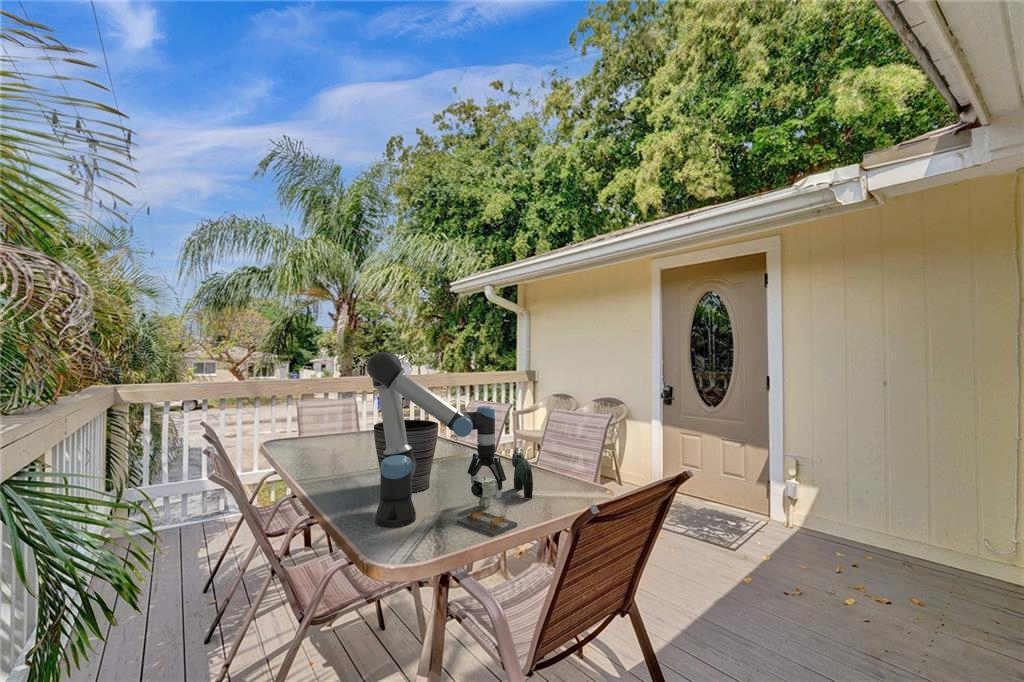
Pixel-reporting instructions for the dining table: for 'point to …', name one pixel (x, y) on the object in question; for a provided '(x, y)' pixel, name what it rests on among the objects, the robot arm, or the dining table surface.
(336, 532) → the dining table surface
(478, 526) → the rail plate
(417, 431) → the planter pot
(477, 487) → the pneumatic valve
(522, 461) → the green spring clamp
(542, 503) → the dining table surface
